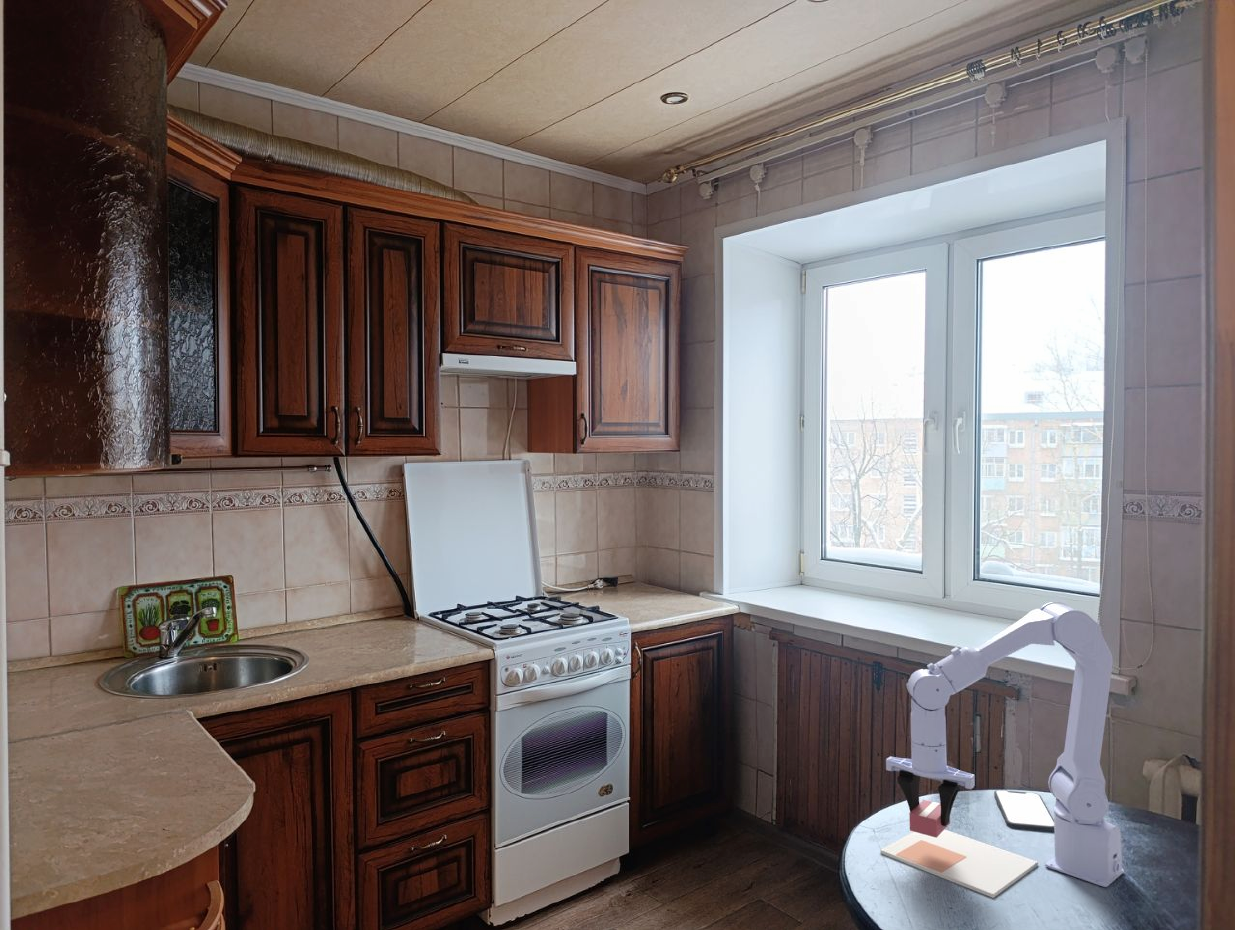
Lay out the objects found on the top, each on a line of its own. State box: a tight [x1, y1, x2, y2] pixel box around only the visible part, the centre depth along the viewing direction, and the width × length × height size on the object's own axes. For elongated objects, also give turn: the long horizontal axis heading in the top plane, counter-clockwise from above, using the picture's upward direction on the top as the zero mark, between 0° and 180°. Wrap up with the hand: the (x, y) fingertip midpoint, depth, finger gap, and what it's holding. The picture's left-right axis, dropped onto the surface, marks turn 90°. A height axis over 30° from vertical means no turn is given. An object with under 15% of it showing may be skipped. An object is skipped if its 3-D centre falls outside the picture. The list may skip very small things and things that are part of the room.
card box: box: [909, 799, 951, 838], centre depth 140 cm, size 7×4×3 cm, turn 140°
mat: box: [880, 828, 1039, 899], centre depth 140 cm, size 20×16×1 cm
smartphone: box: [993, 789, 1054, 833], centre depth 158 cm, size 9×2×16 cm
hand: (930, 819), depth 140 cm, fingers closed on card box, 4 cm apart
